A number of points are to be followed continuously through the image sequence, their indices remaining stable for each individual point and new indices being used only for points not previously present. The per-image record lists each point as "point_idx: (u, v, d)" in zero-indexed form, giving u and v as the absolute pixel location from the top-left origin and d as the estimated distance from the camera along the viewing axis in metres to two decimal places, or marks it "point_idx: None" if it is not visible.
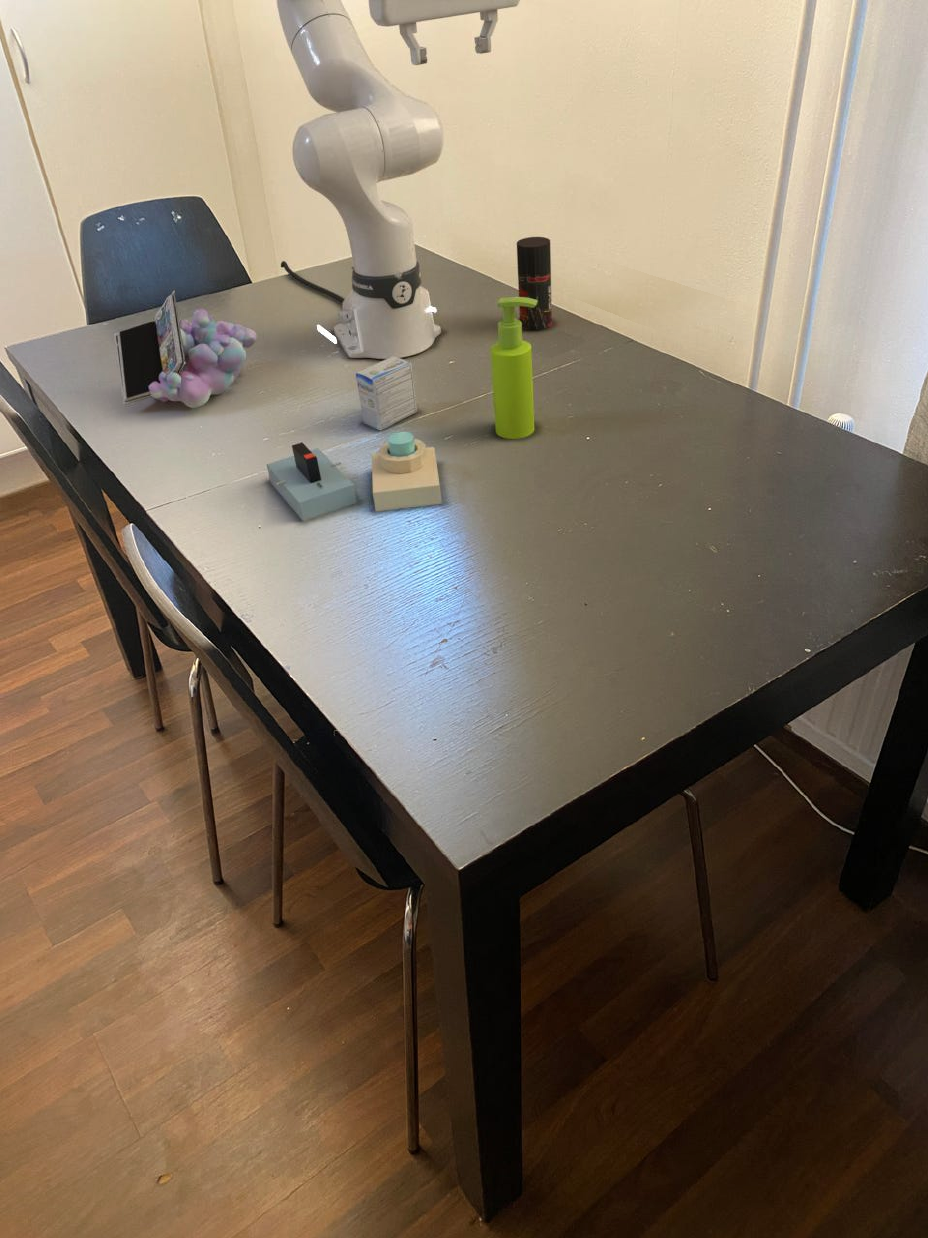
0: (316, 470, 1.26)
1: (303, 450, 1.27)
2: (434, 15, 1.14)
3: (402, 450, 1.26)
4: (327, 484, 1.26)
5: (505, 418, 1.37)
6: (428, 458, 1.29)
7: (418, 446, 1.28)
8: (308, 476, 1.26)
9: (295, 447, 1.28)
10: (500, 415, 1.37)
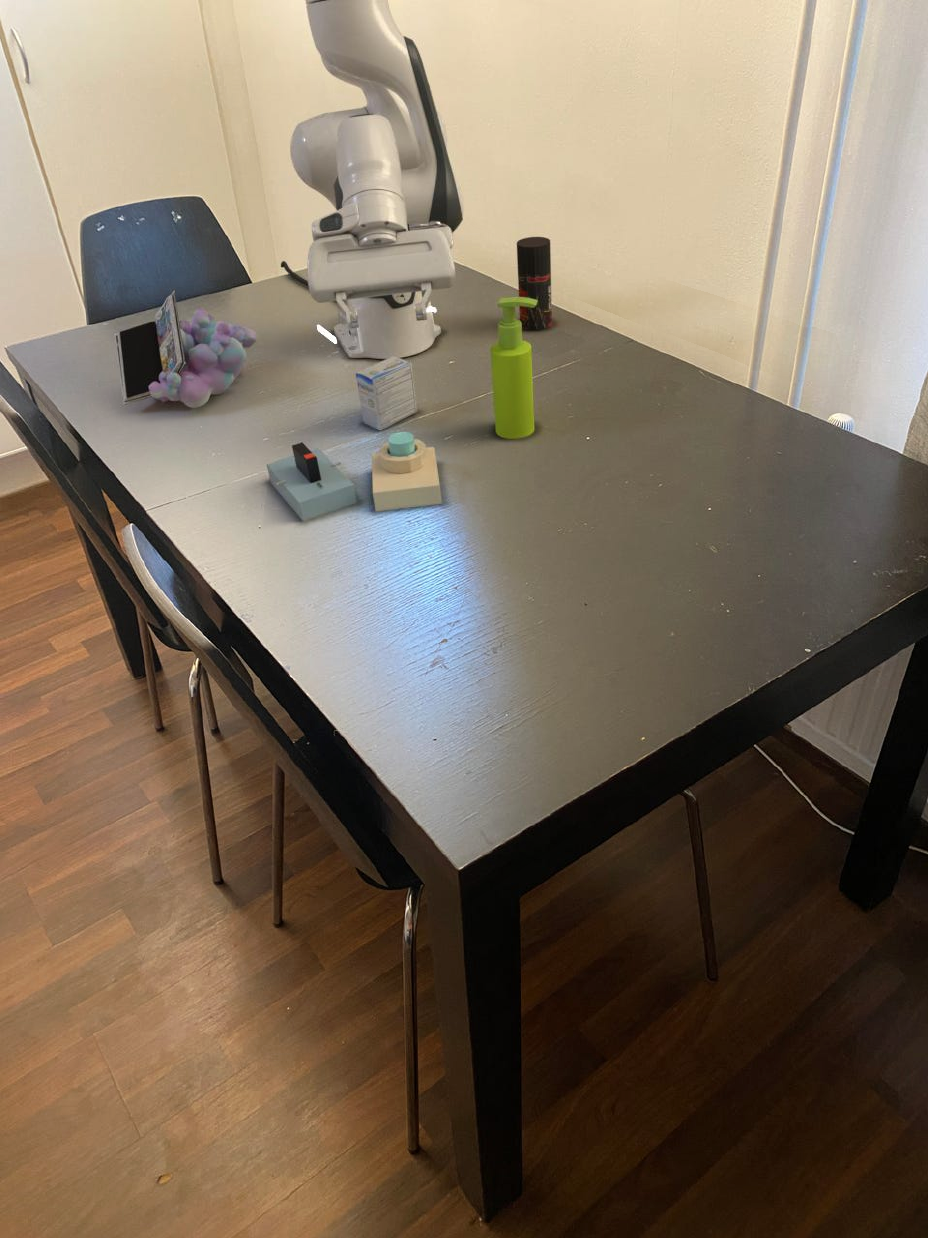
0: (316, 470, 1.26)
1: (303, 450, 1.27)
2: (360, 284, 1.25)
3: (402, 450, 1.26)
4: (327, 484, 1.26)
5: (505, 418, 1.37)
6: (428, 458, 1.29)
7: (418, 446, 1.28)
8: (308, 476, 1.26)
9: (295, 447, 1.28)
10: (500, 415, 1.37)
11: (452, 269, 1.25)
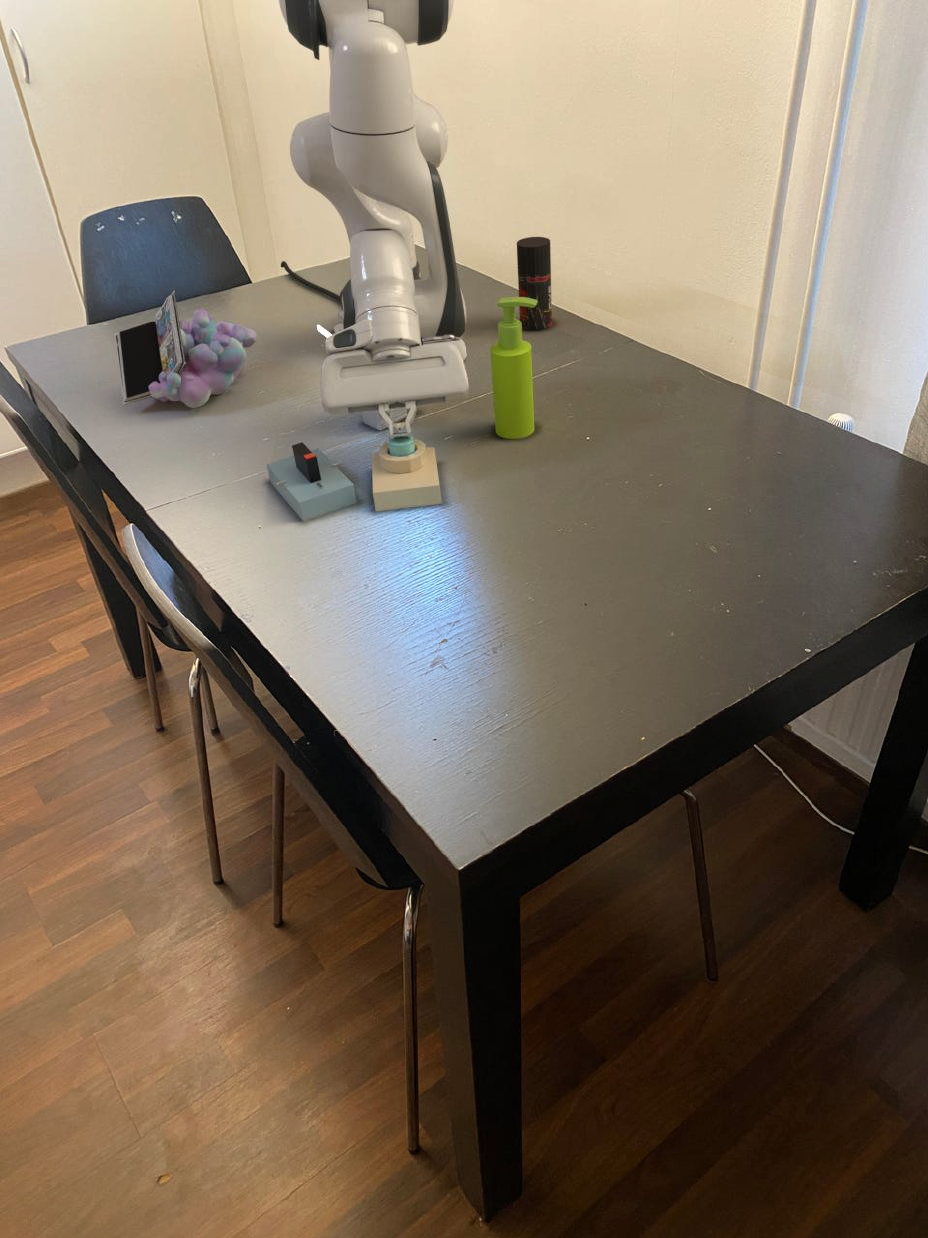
0: (316, 470, 1.26)
1: (303, 450, 1.27)
2: (374, 399, 1.25)
3: (402, 451, 1.26)
4: (327, 484, 1.26)
5: (505, 418, 1.37)
6: (428, 458, 1.29)
7: (418, 446, 1.28)
8: (308, 476, 1.26)
9: (295, 447, 1.28)
10: (500, 415, 1.37)
11: (465, 385, 1.25)
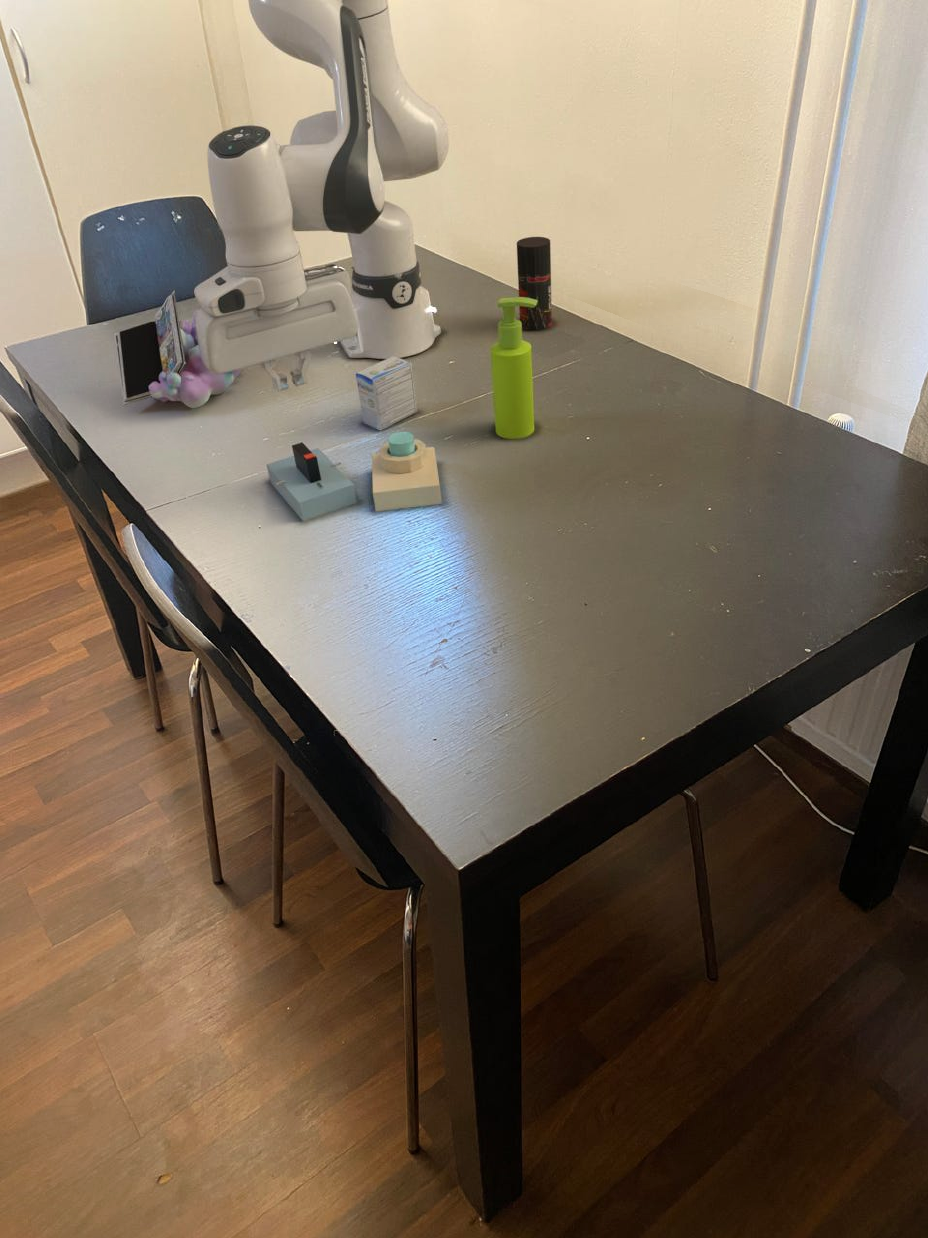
0: (316, 470, 1.26)
1: (303, 450, 1.27)
2: (265, 359, 1.15)
3: (402, 450, 1.26)
4: (327, 484, 1.26)
5: (505, 418, 1.37)
6: (428, 458, 1.29)
7: (418, 446, 1.28)
8: (308, 476, 1.26)
9: (295, 447, 1.28)
10: (500, 415, 1.37)
11: (356, 329, 1.19)
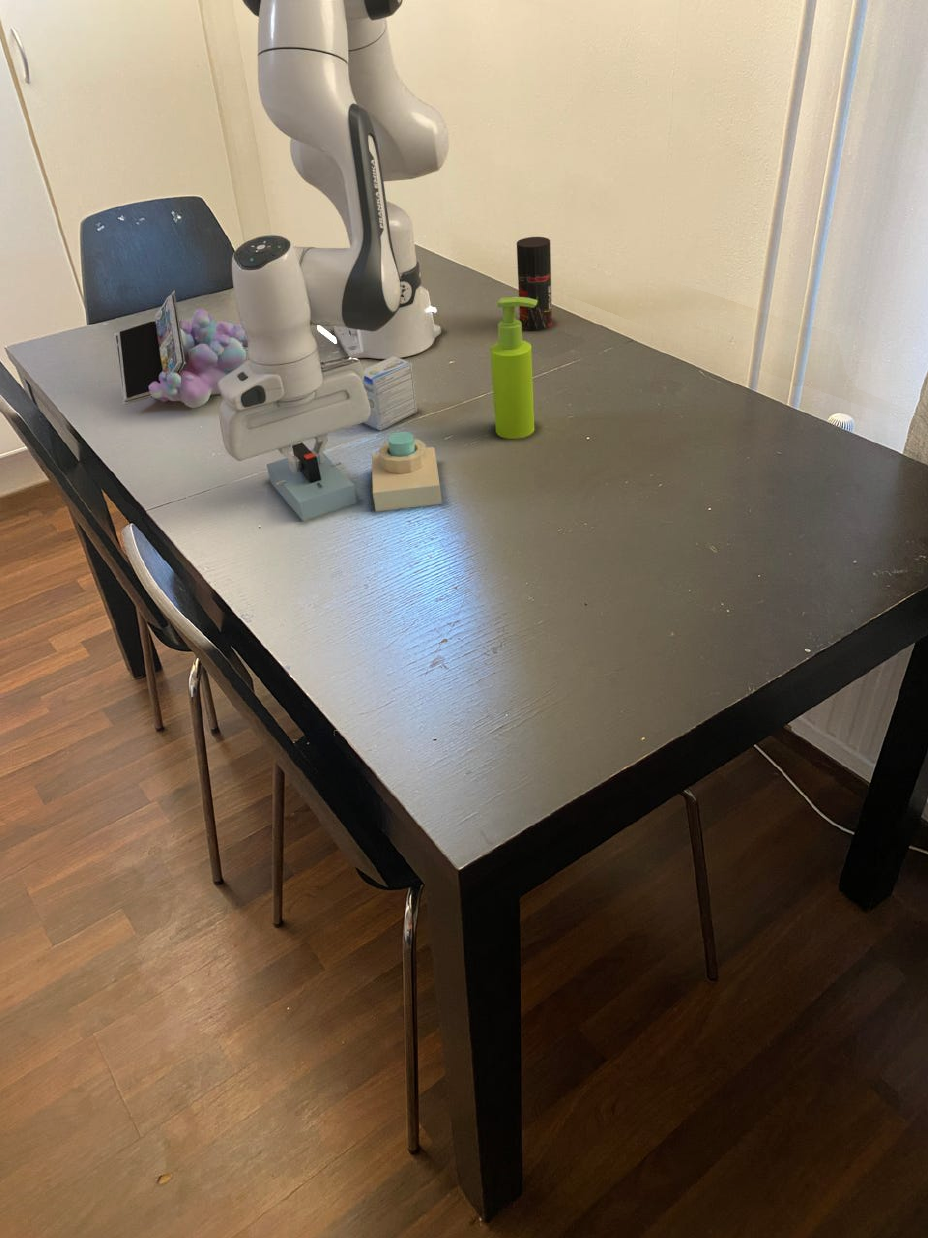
0: (316, 470, 1.26)
1: (303, 450, 1.27)
2: (284, 445, 1.23)
3: (402, 450, 1.26)
4: (327, 484, 1.26)
5: (505, 418, 1.37)
6: (428, 458, 1.29)
7: (418, 446, 1.28)
8: (308, 476, 1.26)
9: (295, 447, 1.28)
10: (500, 415, 1.37)
11: (369, 414, 1.27)
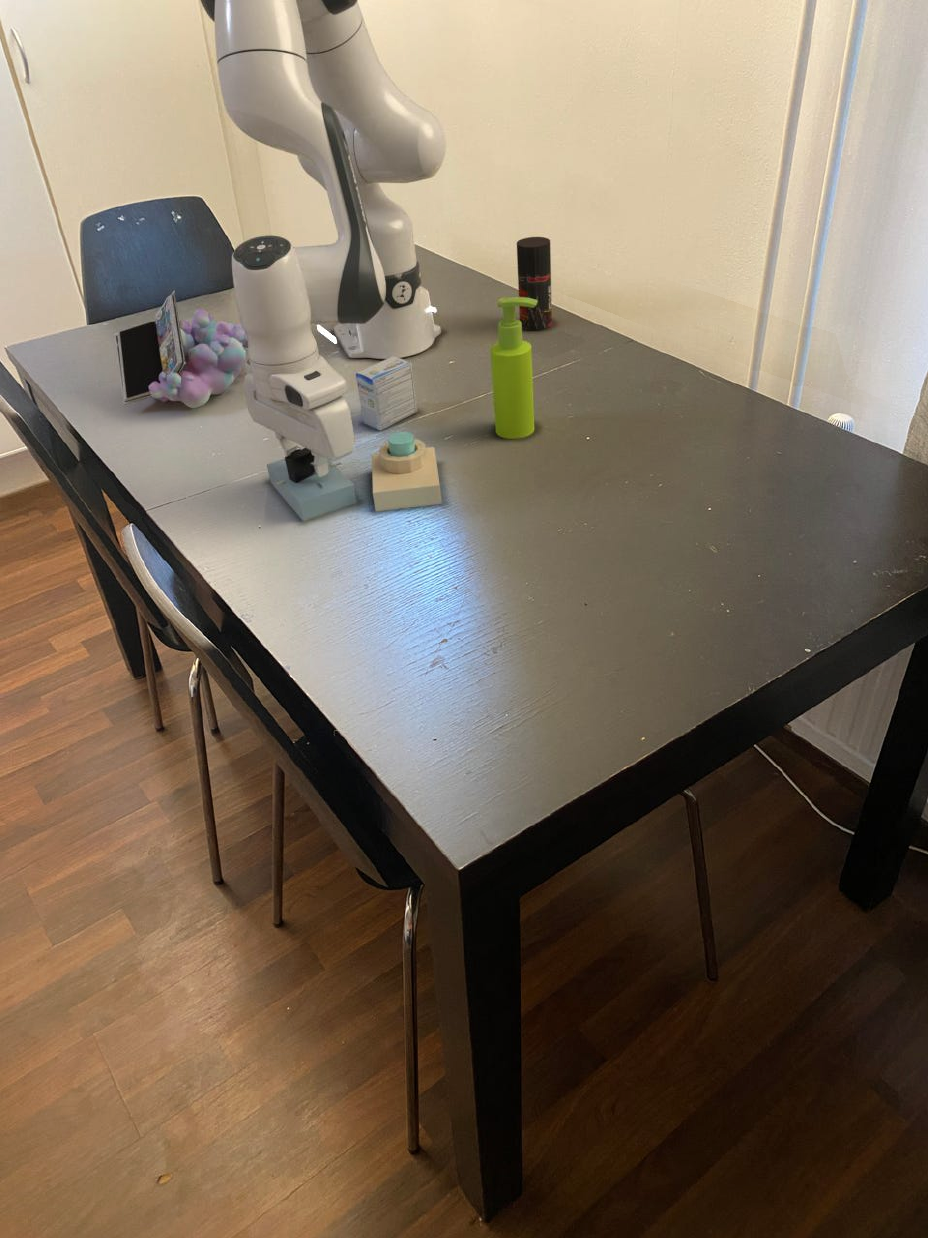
0: None
1: (301, 452, 1.26)
2: None
3: (402, 450, 1.26)
4: (327, 484, 1.26)
5: (505, 418, 1.37)
6: (428, 458, 1.29)
7: (418, 446, 1.28)
8: None
9: (295, 457, 1.25)
10: (500, 415, 1.37)
11: None
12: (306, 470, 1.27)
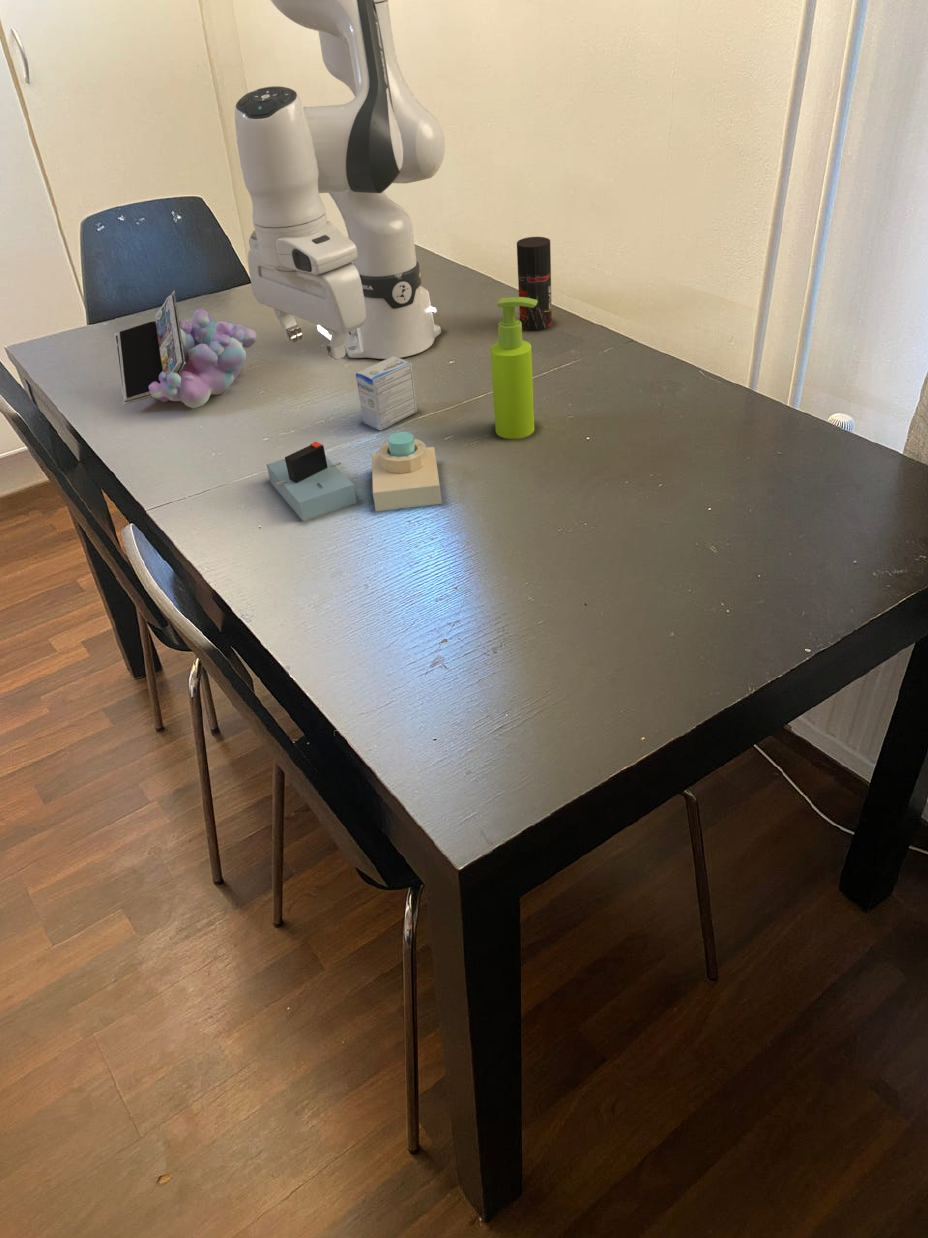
0: None
1: (301, 452, 1.26)
2: None
3: (402, 450, 1.26)
4: (327, 484, 1.26)
5: (505, 418, 1.37)
6: (428, 458, 1.29)
7: (418, 446, 1.28)
8: (324, 463, 1.29)
9: (295, 457, 1.25)
10: (500, 415, 1.37)
11: None
12: (306, 470, 1.27)
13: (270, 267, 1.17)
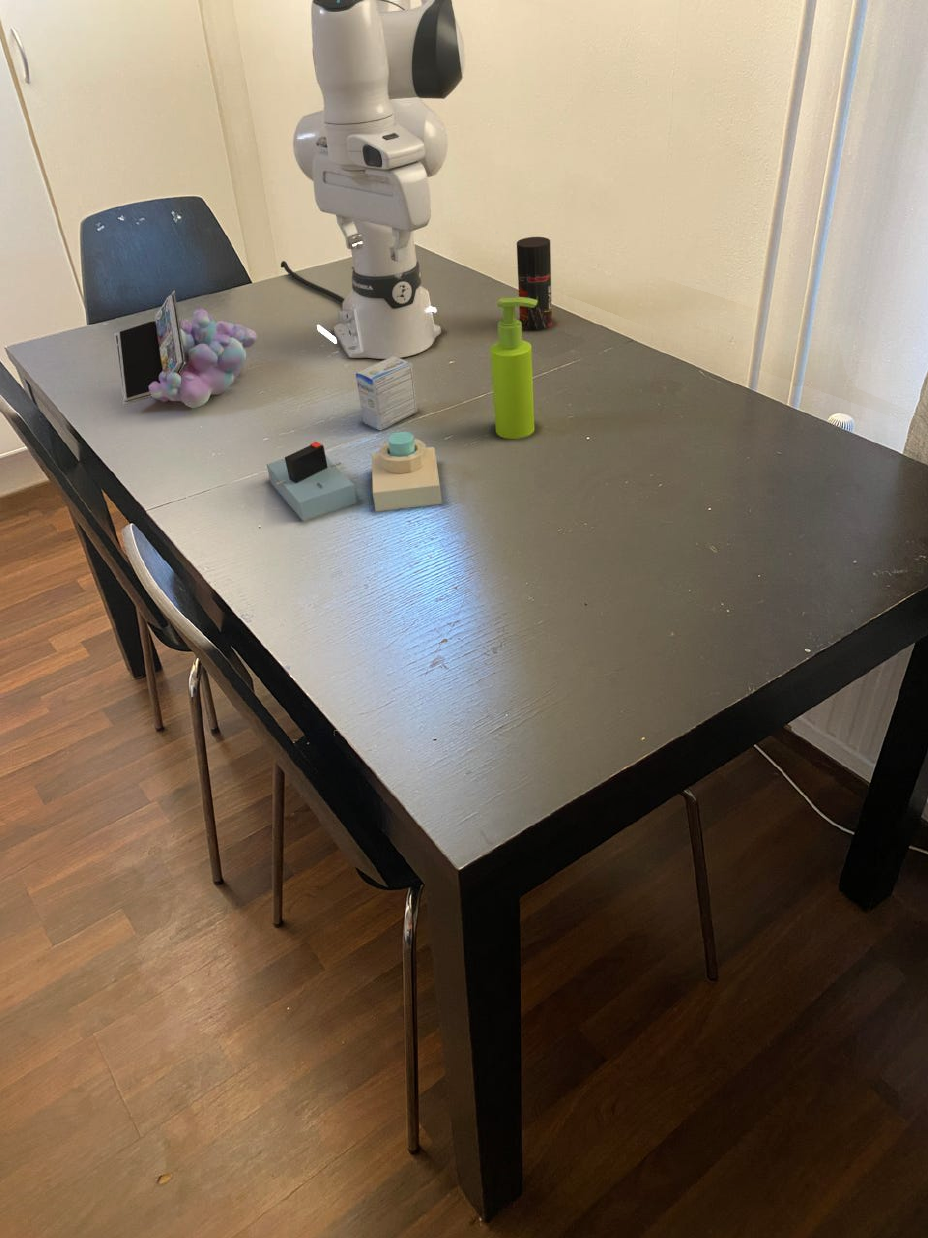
0: None
1: (301, 452, 1.26)
2: None
3: (402, 450, 1.26)
4: (327, 484, 1.26)
5: (505, 418, 1.37)
6: (428, 458, 1.29)
7: (418, 446, 1.28)
8: (324, 463, 1.29)
9: (295, 457, 1.25)
10: (500, 415, 1.37)
11: None
12: (306, 470, 1.27)
13: (336, 171, 1.20)
